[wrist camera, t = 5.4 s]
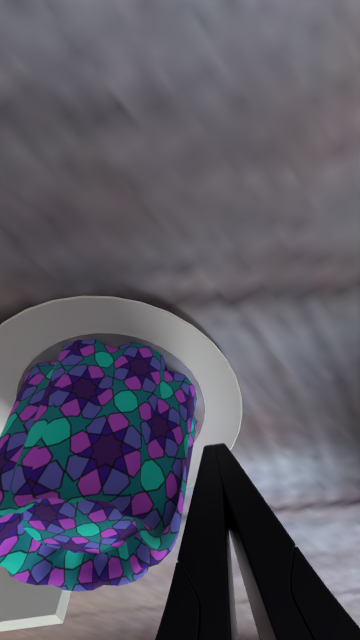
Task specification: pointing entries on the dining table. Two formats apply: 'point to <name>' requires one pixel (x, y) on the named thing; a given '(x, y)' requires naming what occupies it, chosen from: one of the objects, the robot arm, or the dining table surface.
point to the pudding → (102, 439)
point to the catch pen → (30, 603)
